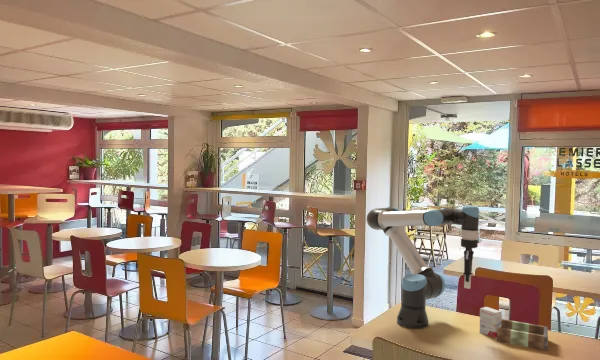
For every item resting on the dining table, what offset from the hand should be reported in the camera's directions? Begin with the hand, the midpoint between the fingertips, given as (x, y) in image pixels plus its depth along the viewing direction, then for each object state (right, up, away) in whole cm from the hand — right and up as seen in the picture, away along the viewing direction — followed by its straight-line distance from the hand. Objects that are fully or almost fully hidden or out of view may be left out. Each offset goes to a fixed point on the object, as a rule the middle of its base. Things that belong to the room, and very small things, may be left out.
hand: (467, 287), depth 220 cm
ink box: (+9, -21, -4) cm, 23 cm away
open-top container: (+21, -21, -10) cm, 31 cm away
